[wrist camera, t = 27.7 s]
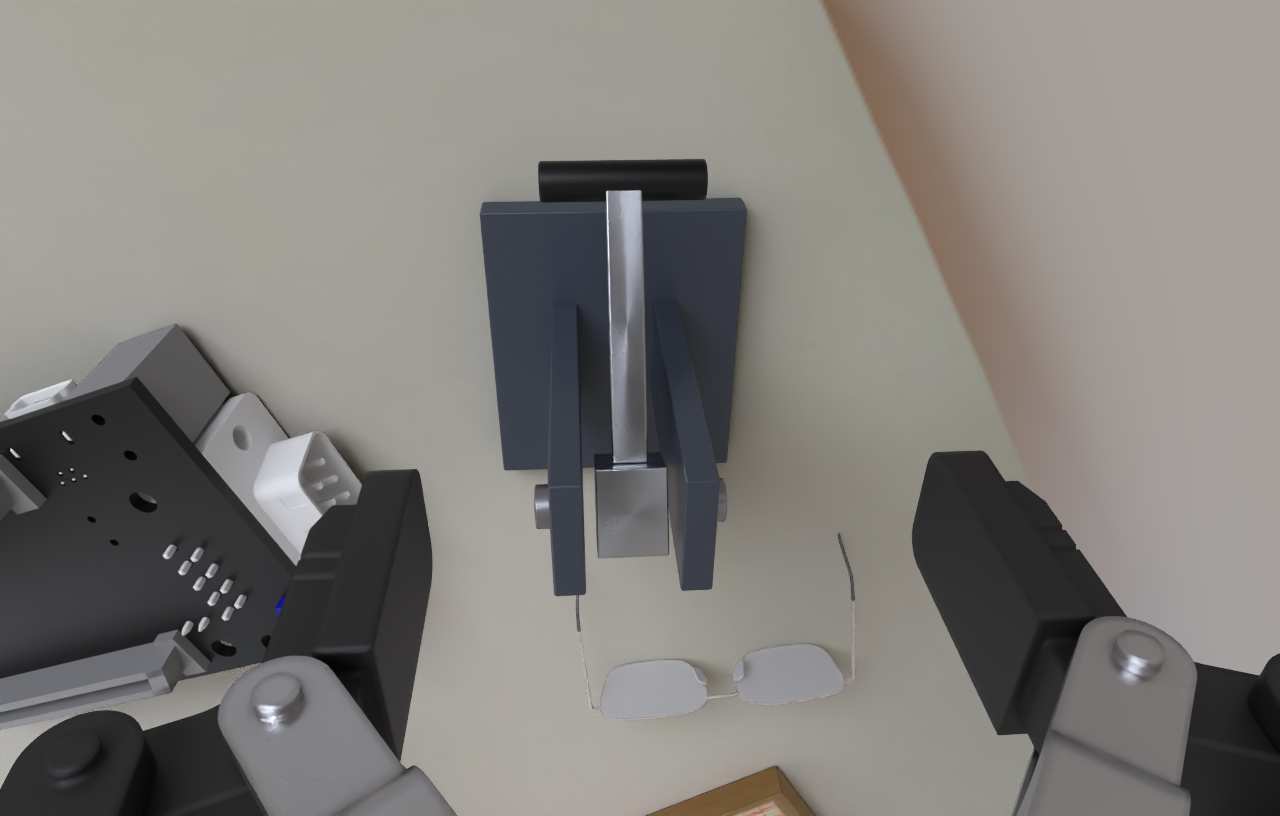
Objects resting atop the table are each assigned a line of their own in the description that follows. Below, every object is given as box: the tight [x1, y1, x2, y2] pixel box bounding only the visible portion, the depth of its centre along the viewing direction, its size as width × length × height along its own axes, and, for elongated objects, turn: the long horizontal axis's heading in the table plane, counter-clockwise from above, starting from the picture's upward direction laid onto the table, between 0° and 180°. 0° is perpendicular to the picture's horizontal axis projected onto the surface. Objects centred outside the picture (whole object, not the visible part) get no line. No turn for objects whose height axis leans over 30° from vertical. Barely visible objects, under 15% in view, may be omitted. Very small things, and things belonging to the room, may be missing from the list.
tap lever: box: [538, 159, 708, 558], centre depth 28 cm, size 12×5×2 cm, turn 179°
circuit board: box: [0, 324, 362, 730], centre depth 39 cm, size 25×7×15 cm
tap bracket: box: [480, 198, 747, 596], centre depth 32 cm, size 12×10×13 cm
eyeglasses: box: [576, 533, 855, 720], centre depth 45 cm, size 14×8×4 cm, turn 95°
